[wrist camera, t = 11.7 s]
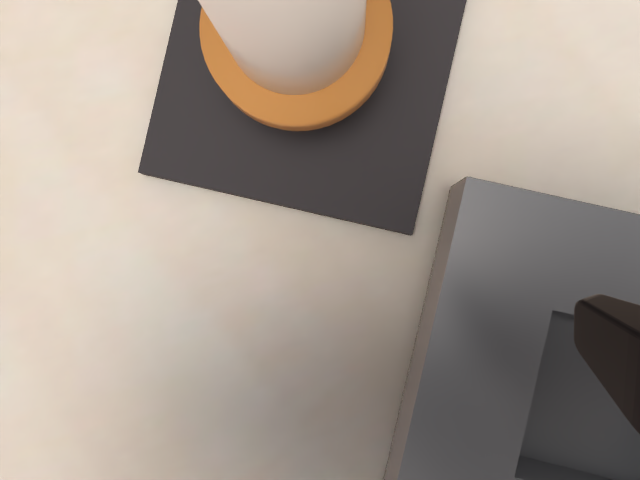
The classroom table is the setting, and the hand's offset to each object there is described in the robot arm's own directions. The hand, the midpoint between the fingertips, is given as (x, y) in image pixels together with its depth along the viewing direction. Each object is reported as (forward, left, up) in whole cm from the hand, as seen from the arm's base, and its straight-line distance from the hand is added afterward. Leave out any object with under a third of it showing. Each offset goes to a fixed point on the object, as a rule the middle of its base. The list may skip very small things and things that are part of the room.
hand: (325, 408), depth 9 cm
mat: (+3, -9, -12) cm, 15 cm away
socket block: (-9, 0, -12) cm, 15 cm away
